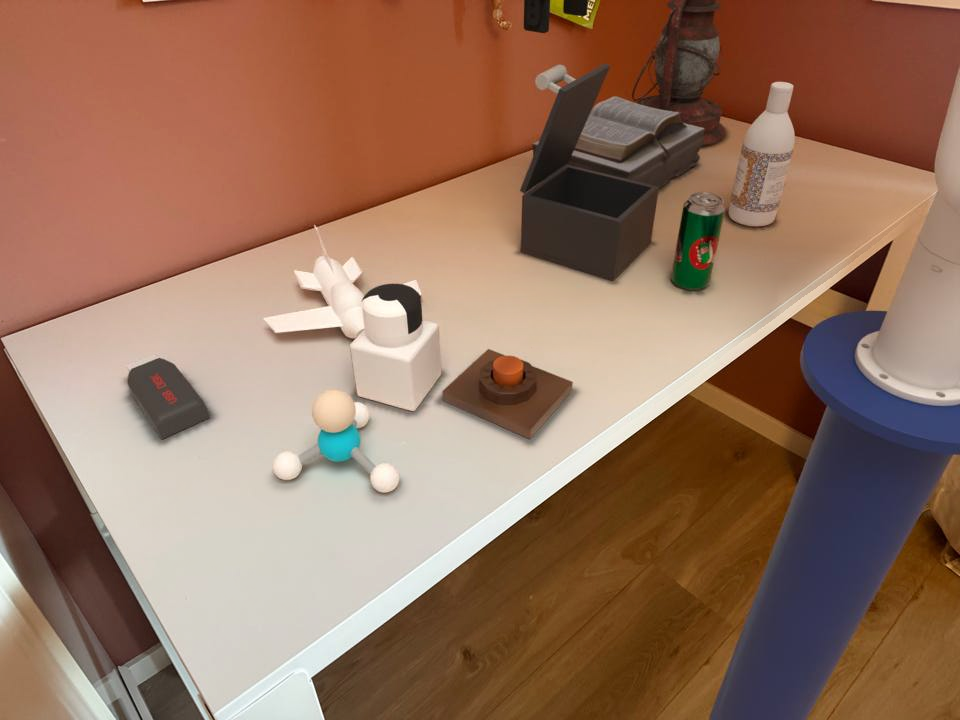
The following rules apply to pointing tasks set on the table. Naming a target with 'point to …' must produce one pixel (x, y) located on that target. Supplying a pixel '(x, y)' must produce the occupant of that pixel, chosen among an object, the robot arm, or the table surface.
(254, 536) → the table surface
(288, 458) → the molecule model
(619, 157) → the bible
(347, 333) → the airplane model
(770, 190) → the bath foam
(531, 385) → the brown base plate
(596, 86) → the door
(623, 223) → the dark grey box
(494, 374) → the button
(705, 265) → the soda can
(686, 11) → the lantern
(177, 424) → the usb drive
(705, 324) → the table surface
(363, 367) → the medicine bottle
